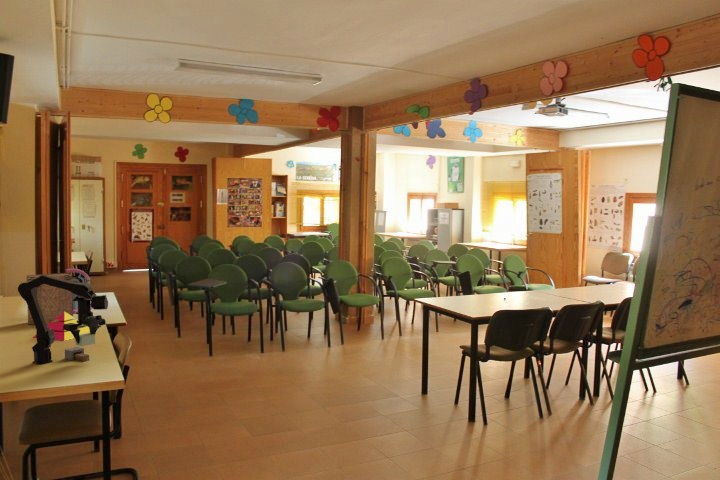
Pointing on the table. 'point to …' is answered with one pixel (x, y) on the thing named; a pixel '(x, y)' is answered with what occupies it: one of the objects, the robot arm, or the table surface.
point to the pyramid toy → (59, 324)
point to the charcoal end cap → (70, 352)
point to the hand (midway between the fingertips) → (85, 342)
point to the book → (53, 298)
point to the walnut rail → (80, 356)
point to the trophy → (75, 303)
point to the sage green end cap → (86, 339)
